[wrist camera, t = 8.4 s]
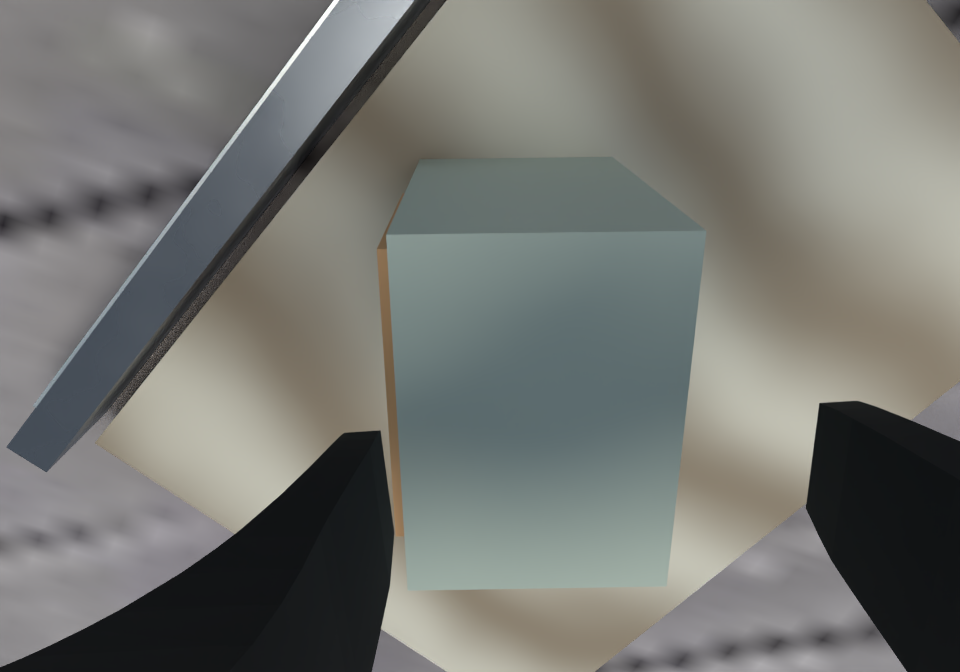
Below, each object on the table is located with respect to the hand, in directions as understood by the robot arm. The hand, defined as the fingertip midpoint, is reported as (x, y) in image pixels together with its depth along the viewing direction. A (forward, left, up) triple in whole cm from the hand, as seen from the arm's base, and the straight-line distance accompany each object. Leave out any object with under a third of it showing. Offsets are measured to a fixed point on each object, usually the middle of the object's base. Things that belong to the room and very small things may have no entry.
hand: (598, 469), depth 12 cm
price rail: (+1, -8, -10) cm, 13 cm away
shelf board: (+1, +2, -10) cm, 11 cm away
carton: (0, -1, -9) cm, 9 cm away
